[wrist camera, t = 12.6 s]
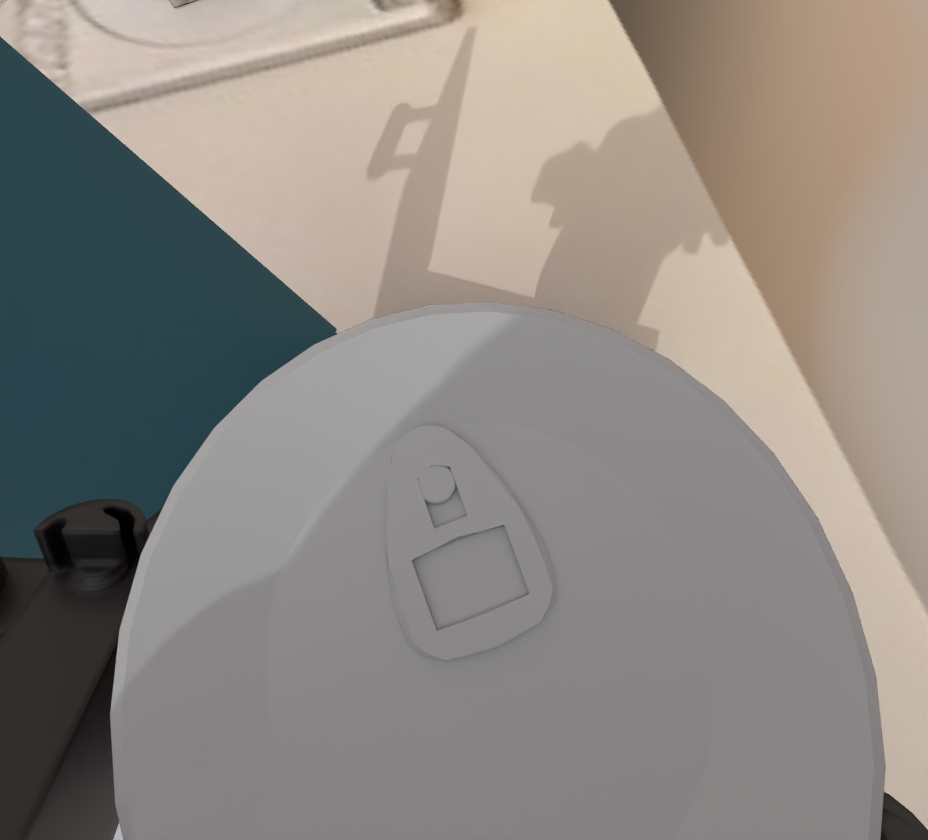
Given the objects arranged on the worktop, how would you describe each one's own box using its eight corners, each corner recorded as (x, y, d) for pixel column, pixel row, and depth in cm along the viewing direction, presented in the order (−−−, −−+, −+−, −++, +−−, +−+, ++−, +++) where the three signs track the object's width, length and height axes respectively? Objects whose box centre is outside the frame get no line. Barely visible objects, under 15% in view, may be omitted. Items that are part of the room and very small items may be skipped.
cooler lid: (-248, -182, 9) (-299, -107, 11) (-1533, 994, 4) (-1219, 757, 6) (337, 329, 25) (276, 322, 27) (194, 680, 21) (133, 642, 22)
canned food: (497, 416, 17) (539, 187, 6) (648, 610, 15) (1093, 776, 4) (314, 547, 16) (-29, 550, 5) (453, 773, 14) (388, 1549, 3)
